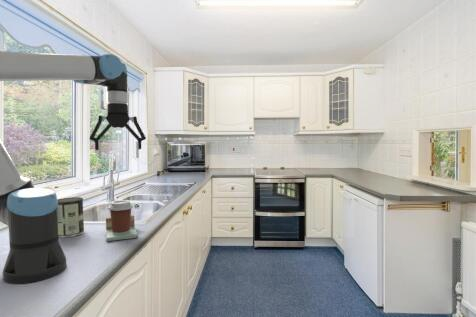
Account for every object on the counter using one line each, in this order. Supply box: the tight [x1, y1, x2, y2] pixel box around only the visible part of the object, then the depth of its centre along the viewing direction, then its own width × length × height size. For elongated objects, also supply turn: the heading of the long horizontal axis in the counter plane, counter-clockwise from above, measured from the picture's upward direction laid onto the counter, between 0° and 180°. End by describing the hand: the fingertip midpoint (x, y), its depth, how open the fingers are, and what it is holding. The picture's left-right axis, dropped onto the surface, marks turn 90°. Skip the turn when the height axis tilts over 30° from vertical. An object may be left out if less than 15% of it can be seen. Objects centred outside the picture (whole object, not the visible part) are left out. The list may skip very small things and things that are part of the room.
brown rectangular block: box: [105, 214, 136, 231], centre depth 126 cm, size 2×11×6 cm, turn 114°
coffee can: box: [57, 196, 85, 239], centre depth 122 cm, size 10×10×14 cm
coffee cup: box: [107, 199, 134, 234], centre depth 119 cm, size 9×9×12 cm
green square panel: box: [105, 226, 138, 242], centre depth 120 cm, size 1×11×12 cm
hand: (119, 158), depth 118 cm, fingers open, 13 cm apart
